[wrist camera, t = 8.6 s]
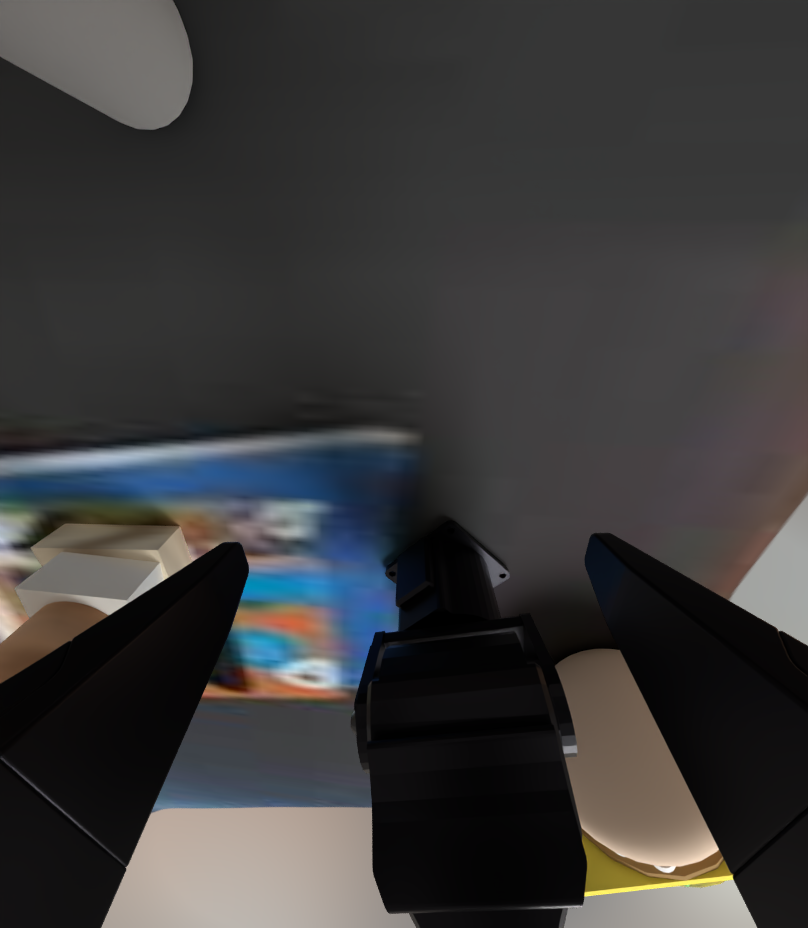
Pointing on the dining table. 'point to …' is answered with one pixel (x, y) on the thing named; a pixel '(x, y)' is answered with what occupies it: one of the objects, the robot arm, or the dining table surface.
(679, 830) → the hamburger
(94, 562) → the white block
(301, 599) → the dining table surface
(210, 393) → the dining table surface
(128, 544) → the birch slab
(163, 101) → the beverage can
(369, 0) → the dining table surface
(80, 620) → the tan cylinder
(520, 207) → the dining table surface
